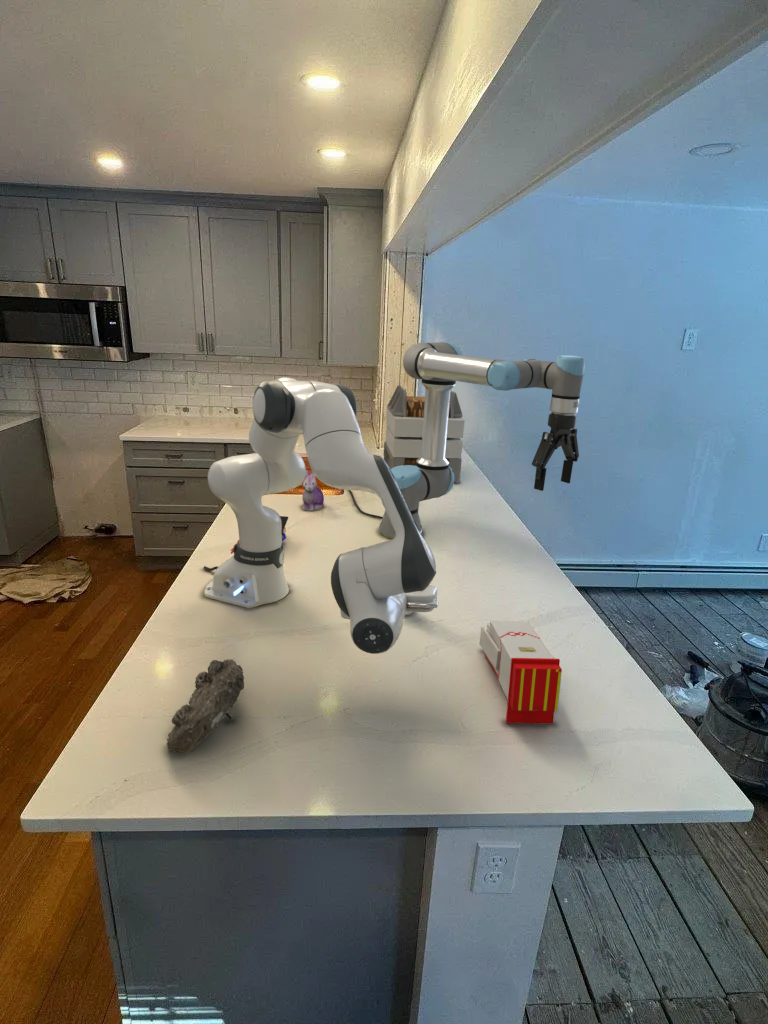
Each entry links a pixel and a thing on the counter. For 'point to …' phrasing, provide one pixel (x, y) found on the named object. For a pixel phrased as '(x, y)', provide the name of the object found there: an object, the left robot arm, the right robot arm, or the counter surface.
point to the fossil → (206, 705)
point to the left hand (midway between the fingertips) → (391, 583)
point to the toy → (523, 670)
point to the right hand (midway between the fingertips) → (552, 485)
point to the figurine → (312, 493)
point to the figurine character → (283, 526)
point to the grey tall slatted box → (419, 431)
